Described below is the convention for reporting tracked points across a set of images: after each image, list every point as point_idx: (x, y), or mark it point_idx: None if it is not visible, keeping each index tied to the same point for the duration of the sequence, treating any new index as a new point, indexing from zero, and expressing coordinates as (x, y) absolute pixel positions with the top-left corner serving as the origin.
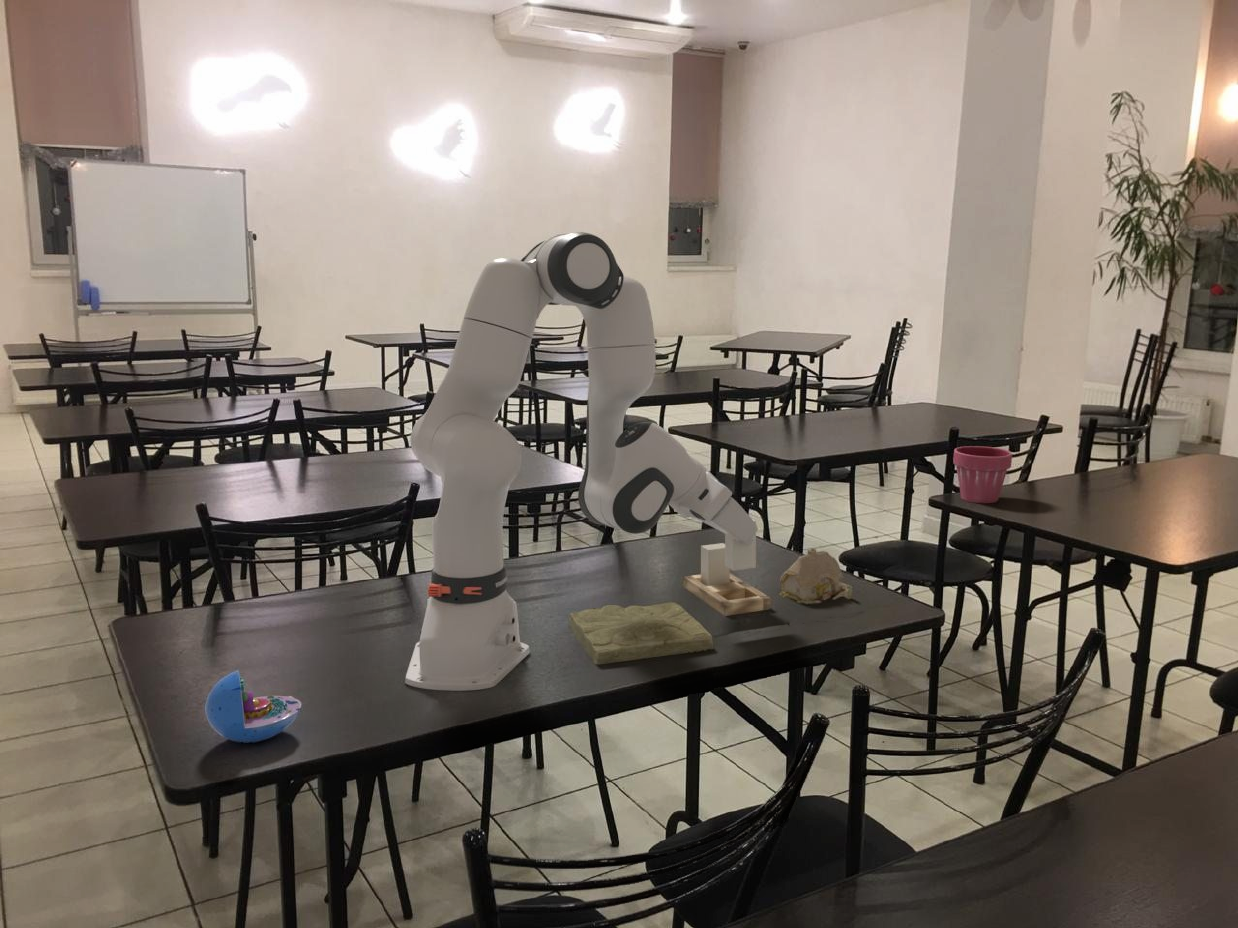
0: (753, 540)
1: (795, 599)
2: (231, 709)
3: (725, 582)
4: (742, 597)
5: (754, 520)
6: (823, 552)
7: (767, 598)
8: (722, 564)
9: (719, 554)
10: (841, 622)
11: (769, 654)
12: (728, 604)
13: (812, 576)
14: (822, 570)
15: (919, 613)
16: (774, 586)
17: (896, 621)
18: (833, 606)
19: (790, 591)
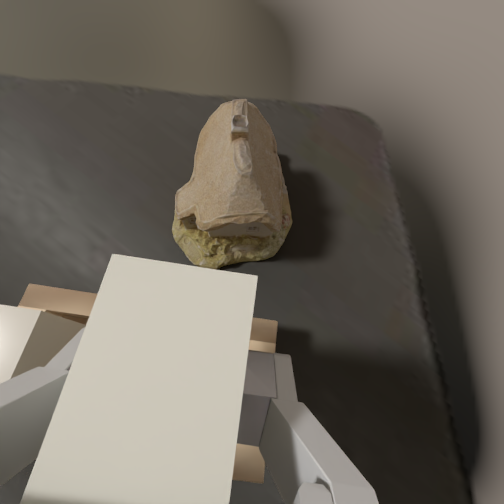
0: (288, 355)
1: (251, 244)
2: None
3: None
4: None
5: (241, 279)
6: (244, 107)
7: (276, 331)
8: None
9: (35, 367)
10: (351, 235)
11: (465, 485)
12: (264, 468)
13: (273, 188)
14: (272, 158)
15: (361, 128)
16: (127, 206)
17: (378, 170)
18: None
19: (228, 234)
